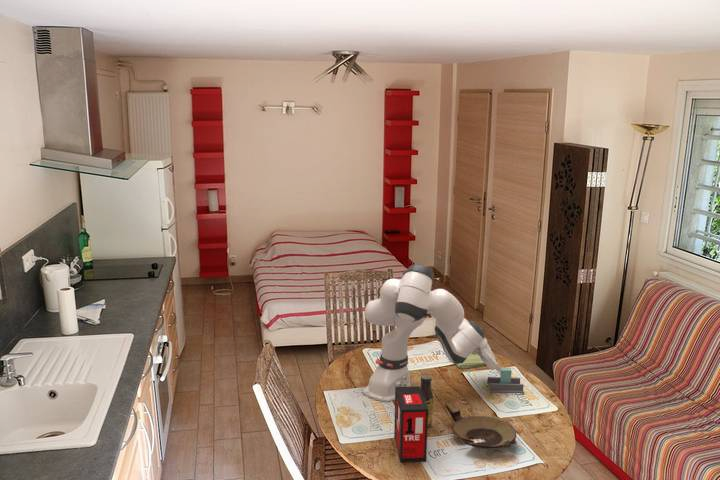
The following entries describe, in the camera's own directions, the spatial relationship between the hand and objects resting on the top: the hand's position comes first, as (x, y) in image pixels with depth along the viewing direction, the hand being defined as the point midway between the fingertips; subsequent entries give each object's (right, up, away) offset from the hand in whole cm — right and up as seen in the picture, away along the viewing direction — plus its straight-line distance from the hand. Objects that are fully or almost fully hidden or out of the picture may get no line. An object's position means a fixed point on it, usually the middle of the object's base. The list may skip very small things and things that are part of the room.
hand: (498, 365), depth 256 cm
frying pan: (-15, -19, -36) cm, 44 cm away
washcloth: (-7, -5, +27) cm, 29 cm away
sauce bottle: (-35, -17, -28) cm, 48 cm away
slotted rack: (+3, -10, +1) cm, 11 cm away
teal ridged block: (+3, -9, +1) cm, 10 cm away
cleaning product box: (-42, -21, -44) cm, 64 cm away
